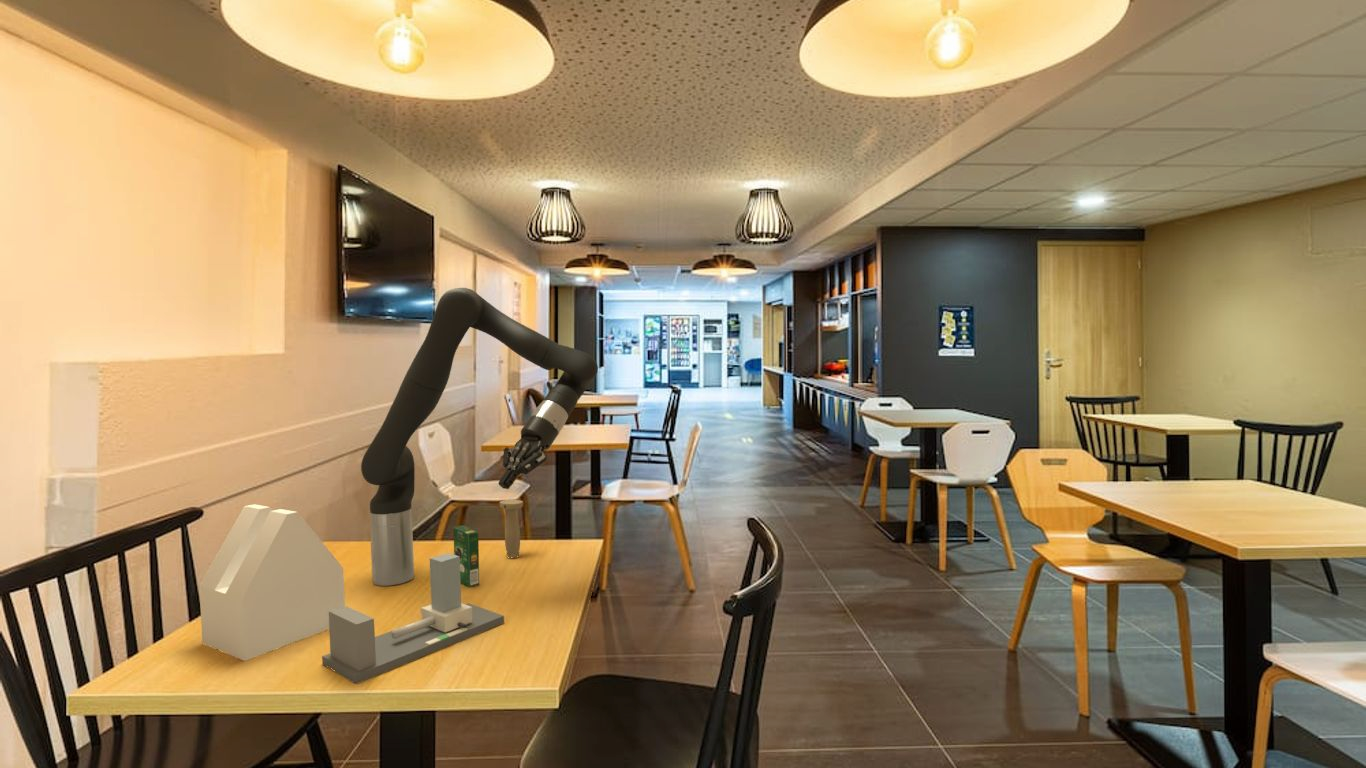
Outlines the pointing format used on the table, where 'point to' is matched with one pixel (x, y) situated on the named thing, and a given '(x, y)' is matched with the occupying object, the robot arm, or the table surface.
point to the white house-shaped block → (268, 584)
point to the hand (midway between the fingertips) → (503, 486)
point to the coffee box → (467, 554)
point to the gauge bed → (390, 642)
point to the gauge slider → (442, 599)
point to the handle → (512, 526)
